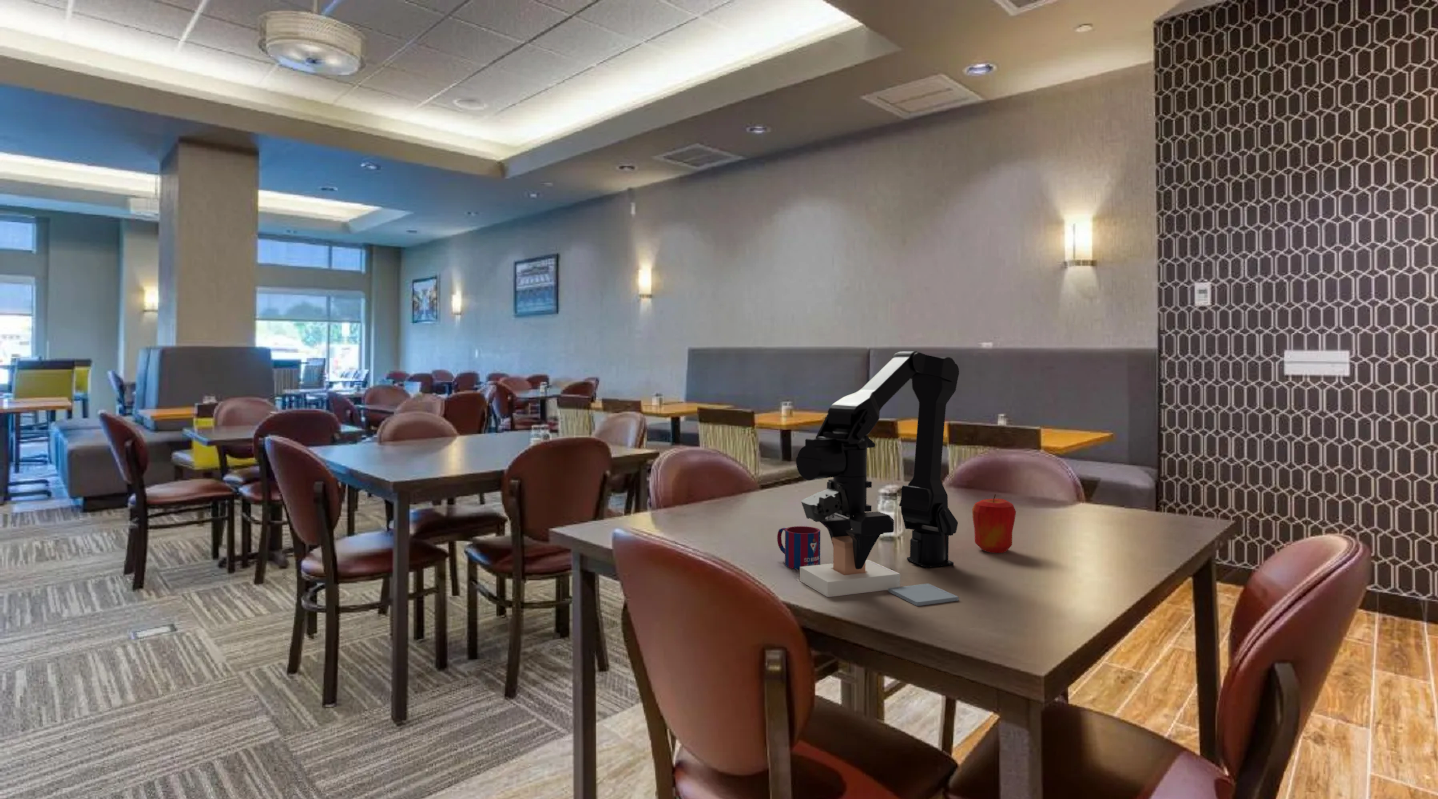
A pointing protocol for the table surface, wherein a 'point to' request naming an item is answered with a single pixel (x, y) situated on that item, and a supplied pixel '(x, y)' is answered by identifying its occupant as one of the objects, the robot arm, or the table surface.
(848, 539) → the plug
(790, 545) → the mug
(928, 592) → the pad
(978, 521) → the apple
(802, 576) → the white flat block
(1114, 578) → the table surface
